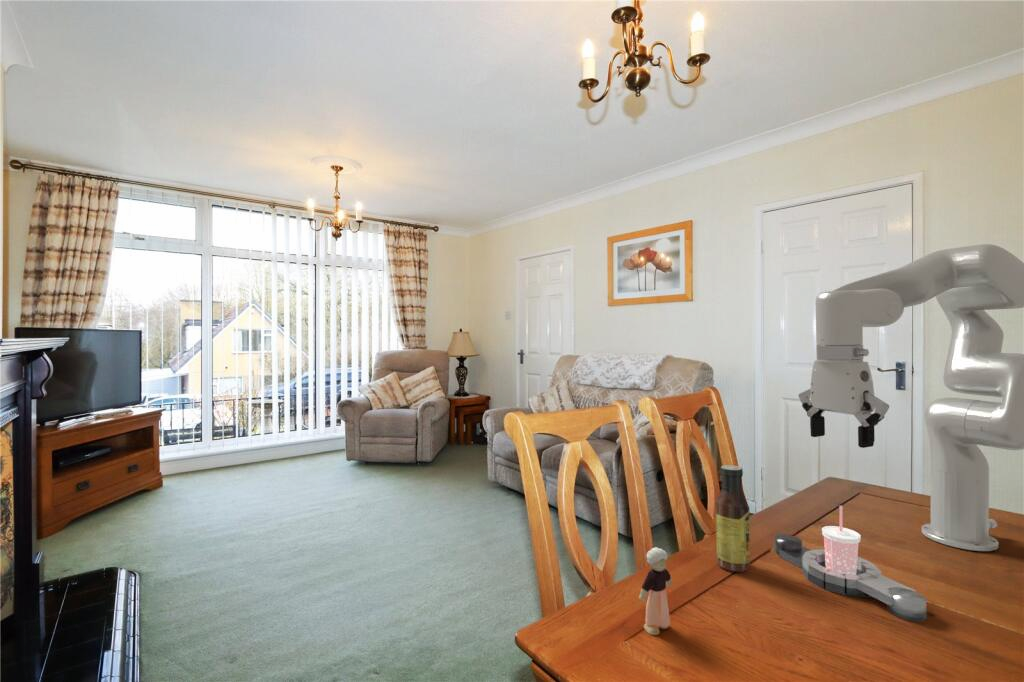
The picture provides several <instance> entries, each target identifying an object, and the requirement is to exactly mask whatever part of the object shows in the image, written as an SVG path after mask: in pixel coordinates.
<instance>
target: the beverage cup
mask: <svg viewBox="0 0 1024 682" xmlns="http://www.w3.org/2000/svg"><path fill="white" fill-rule="evenodd" d="M843 509H844V508H843V505H839V525H838V526H836V525H826V526H824V527H821V532H822V533H821V535H822V536H823V544H824V550H825V562H826V568H827V569H829V570H832V571H836V572H839V573H843V574H853V575H856V571H857V558H858V557H859V556H858V555H859V543H861V538H862V537H861V536H862V535H861V534H860V533H859V532H857V531H855V530H853V529H850V528H847V527H844V525H843V522H844V521H843V518H844V517H843V514H844V513H843Z"/></svg>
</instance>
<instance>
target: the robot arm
mask: <svg viewBox="0 0 1024 682" xmlns="http://www.w3.org/2000/svg"><path fill="white" fill-rule="evenodd" d="M933 298H935V299H936V301H937V303H938V305H939V306H940V308H941V310H942V311H943V313H944V315H945V316H946V319H947V320H948V322H949V325H950V329H951V337H950V343H949V345H948V351H947V356H946V360H945V365H944V371H943V377H942V378H943V383H944V385H945V387H946V388H947V389H949V390H950V391H953V392H955V393H959V394H966V395H973V396H974V395H975V396H984V397H993V398H995V397H997V398H1002V401H1001V402H996V401H988V400H980V399H973V398H972V399H971V398H960V397H942V398H937V399H935V400H933V401H931V402H930V403H929V404H928V405H927V406H926V408H925V412H924V421H925V425H926V429H927V434H928V441H929V448H930V523H925V524H923V525H921V533H922V534H923V535H924V536H925V537H927V538H929V540H932V541H934V542H937V543H940V544H942V545H945V546H949V547H952V548H957V549H962V550H967V551H975V552H992V551H993V550H994V551H996V550H998V549H999V541H998V540H997V539H996V538H994V537H993V536H992V535H990V534H989V530H991V529H995V528H997V527H998V523H997V521H996V520H995V519H993V518H989V517H990V515H989V514H990V513H989V512H990V511H989V509H990V508H989V506H990V505H989V503H990V502H989V499H990V498H989V497H990V495H989V494H990V492H989V490H990V488H989V487H990V485H989V483H990V467H989V462H988V460H987V457H986V456H985V455H984V453H983V452H982V450H981V449H980V447H979V446H984V447H991V448H996V449H1000V450H1001V449H1002V450H1009V451H1023V450H1024V354H1023V353H1014V352H1011V353H1010V352H1002V349H1003V342H1004V338H1005V336H1004V335H1005V333H1004V331H1003V329H1002V327H1001V326H1000V325H999V323H998V322H997V321H996V320H995V319H994V318H993V317H992V316H991V315H990V314H989V313H988V312H986V310H989V311H990V310H992V311H993V310H1016V309H1017V310H1018V309H1022V308H1024V261H1022V260H1021V259H1019V258H1018V257H1017V256H1016V255H1014V254H1013V253H1011V252H1010V251H1009V250H1007V249H1005V248H1003V247H1001V246H998V245H995V244H989V243H985V244H983V243H982V244H975V245H970V246H969V245H967V246H960V247H953V248H947V249H941V250H936V251H933V252H931V253H928V254H926V255H924V256H922V257H919V258H918V259H916V260H914V261H911V262H910V263H907V264H905V265H903V266H900V267H898V268H895V269H891V270H888V271H885V272H881V273H879V274H876V275H872V276H869V277H865V278H862V279H859V280H855V281H853V282H850V283H848V284H847V283H846V284H844V285H842V286H840V287H837V288H836V289H833V290H829V291H823V292H820V293H819V294H817V296H816V298H815V339H816V340H815V343H816V344H815V345H816V360H814V361H813V365H812V370H811V379H810V388H809V389H807V390H805V391H802V392H800V393H799V394H798V398H799V400H800V402H801V406H802V408H803V409H804V411H805V412H806V415H807V417H809V423H810V424H809V425H810V427H809V428H810V436H811V437H812V438H819V437H823V436H826V424H825V423H826V422H825V420H826V418H825V416H823V414H824V413H825V412H832V413H837V414H845V415H853V416H854V417H855V418H856V419H857V421H858V422H859V423H860V425H858V427H857V445H858V447H859V448H862V449H863V448H864V449H865V448H871V447H874V445H875V441H876V440H875V438H876V437H875V426H877V425H879V423H880V422H881V421H882V420H883V419H884V418H885V415H886V414H887V412H888V410H889V409H890V405H889V404H888V403H886V402H885V401H883V400H882V399H880V398H879V397H877V396H875V390H874V389H875V388H874V383H873V382H874V381H873V376H872V371H871V368H870V364H869V362H868V361H864V357H868V356H869V354H870V351H869V349H868V348H864V344H863V343H864V342H863V341H864V339H863V337H864V336H863V328H881V327H886V326H890V325H892V324H894V323H896V322H897V321H899V320H900V318H901V317H902V316H903V313H904V312H905V311H904V310H905V308H909V307H913V306H917V305H922V304H923V303H926V302H928V301H929V300H931V299H933ZM994 551H993V552H994Z"/></svg>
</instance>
